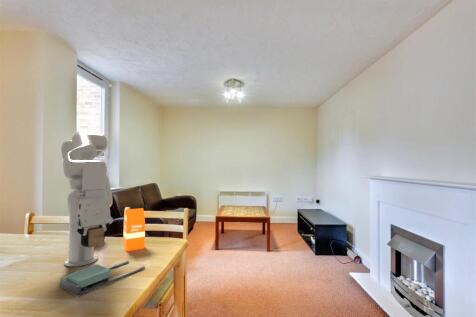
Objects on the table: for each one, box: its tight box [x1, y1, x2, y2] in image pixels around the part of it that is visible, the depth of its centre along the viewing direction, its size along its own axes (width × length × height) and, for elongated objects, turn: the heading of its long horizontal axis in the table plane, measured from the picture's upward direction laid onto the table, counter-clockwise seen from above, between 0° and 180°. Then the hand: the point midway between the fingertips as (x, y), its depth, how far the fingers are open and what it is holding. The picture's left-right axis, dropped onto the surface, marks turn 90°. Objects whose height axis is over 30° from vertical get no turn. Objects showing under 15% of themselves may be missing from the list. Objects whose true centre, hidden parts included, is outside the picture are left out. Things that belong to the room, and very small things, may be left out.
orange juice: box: [123, 207, 146, 252], centre depth 128 cm, size 8×9×20 cm
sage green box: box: [65, 264, 112, 291], centre depth 89 cm, size 9×11×4 cm
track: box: [59, 260, 146, 297], centre depth 95 cm, size 12×26×3 cm, turn 147°
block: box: [87, 226, 105, 248], centre depth 90 cm, size 5×5×6 cm
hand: (93, 243), depth 90 cm, fingers closed on block, 5 cm apart
